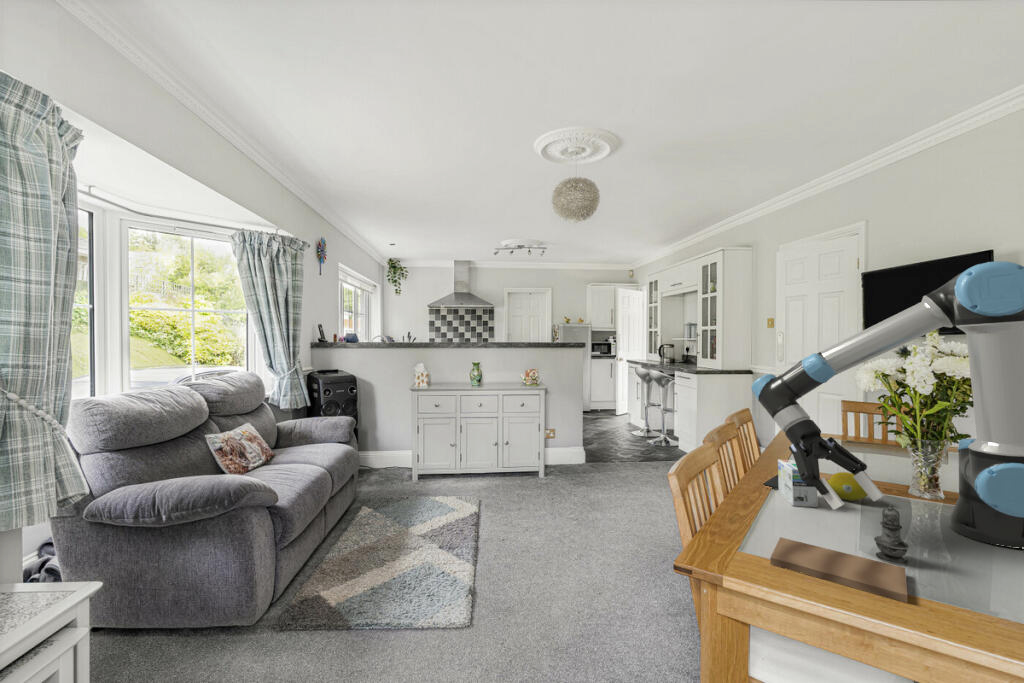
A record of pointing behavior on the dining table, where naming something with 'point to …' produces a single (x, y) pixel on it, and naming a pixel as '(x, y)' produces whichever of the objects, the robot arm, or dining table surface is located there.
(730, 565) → the dining table surface
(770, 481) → the smart home device
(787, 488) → the light bulb box
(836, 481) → the lemon
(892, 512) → the grey tall carved piece
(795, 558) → the walnut board
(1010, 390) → the robot arm
